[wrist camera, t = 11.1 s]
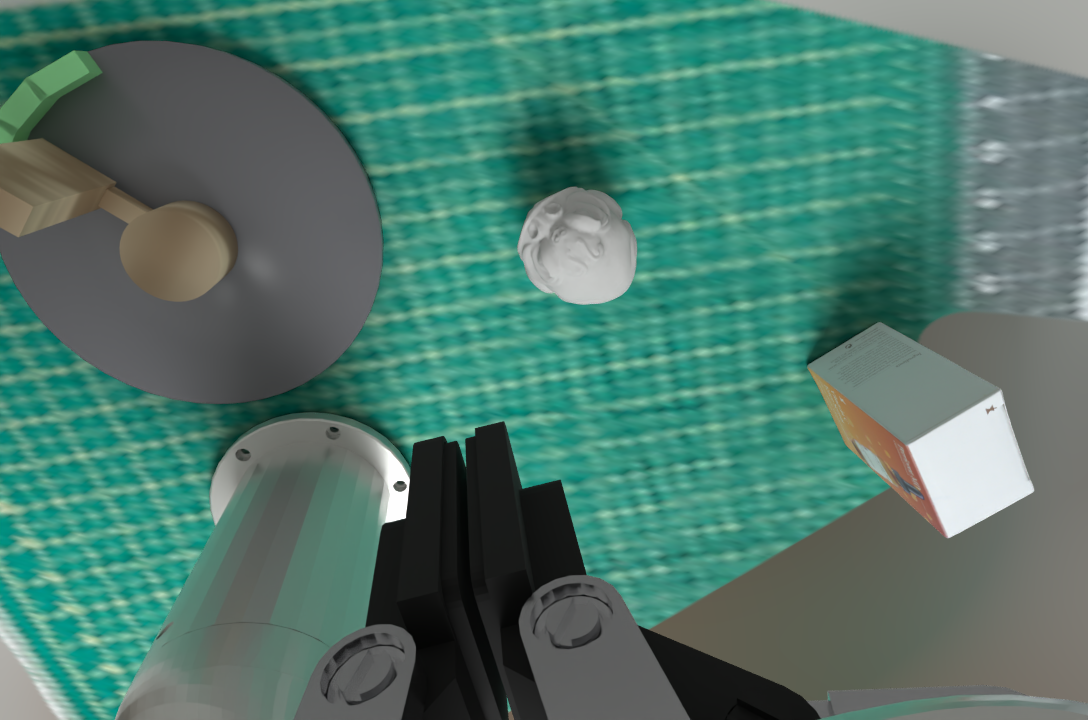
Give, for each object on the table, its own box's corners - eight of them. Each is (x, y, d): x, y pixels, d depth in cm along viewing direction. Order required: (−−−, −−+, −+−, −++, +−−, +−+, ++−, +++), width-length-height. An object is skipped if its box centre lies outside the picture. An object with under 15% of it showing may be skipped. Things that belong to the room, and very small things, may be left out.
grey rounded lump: (557, 149, 36) (580, 164, 30) (644, 231, 38) (682, 261, 32) (486, 233, 37) (493, 264, 31) (575, 307, 40) (598, 350, 33)
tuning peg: (253, 233, 34) (207, 267, 28) (213, 299, 35) (160, 348, 29) (55, 112, 31) (-50, 119, 24) (17, 189, 32) (-92, 216, 25)
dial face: (344, 425, 41) (338, 445, 38) (-2, 350, 36) (-32, 367, 34) (420, 117, 34) (418, 119, 32) (12, -21, 30) (-23, -29, 28)
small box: (803, 363, 43) (904, 443, 34) (879, 318, 43) (1003, 386, 33) (845, 448, 46) (947, 543, 37) (916, 407, 46) (1039, 493, 36)
